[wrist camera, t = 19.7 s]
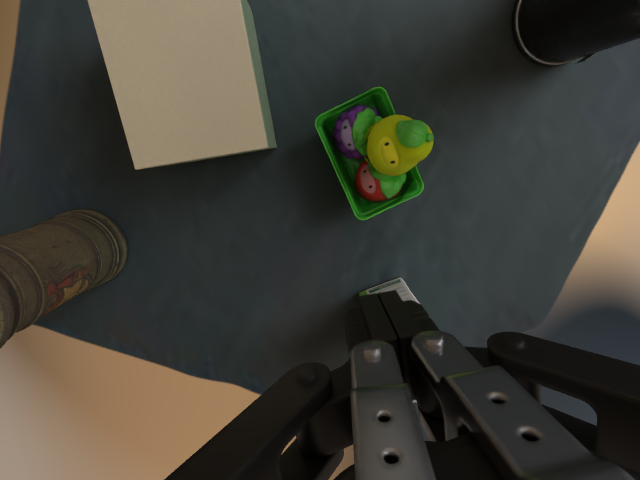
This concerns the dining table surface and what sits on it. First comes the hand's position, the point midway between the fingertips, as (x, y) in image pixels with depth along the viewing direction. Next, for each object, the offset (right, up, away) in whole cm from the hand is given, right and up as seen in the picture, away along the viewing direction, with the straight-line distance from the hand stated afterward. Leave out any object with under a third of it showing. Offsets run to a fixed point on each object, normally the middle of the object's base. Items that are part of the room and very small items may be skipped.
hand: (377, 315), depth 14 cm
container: (-29, +2, +29) cm, 41 cm away
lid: (-14, +17, +16) cm, 27 cm away
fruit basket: (+3, +13, +27) cm, 30 cm away
